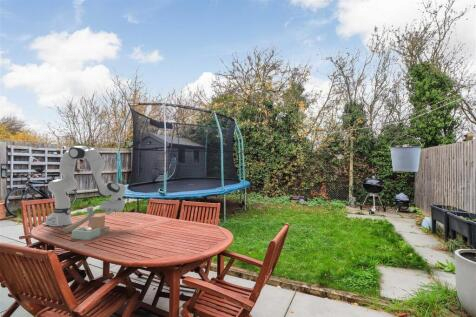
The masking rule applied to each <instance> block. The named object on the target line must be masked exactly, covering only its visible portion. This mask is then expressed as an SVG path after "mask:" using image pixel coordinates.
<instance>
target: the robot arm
mask: <svg viewBox="0 0 476 317" xmlns="http://www.w3.org/2000/svg"><path fill="white" fill-rule="evenodd" d="M83 159H86V160H87V162H88V164H89V166H90V168H91V174H92V176H93V180H94V182H95V184H96V187H97V193H98V195H99V196H100V197H102V198H107V197H109V196H110V195H111V196H110V198H109V200H108V199H107V200H106V199H105V200H103V201H102V202H101V204H100V205H99V206H98V208H99V210H100V211H105V212H106V213H105V216H106V215H107V216H110V215H111V214H113V212H122V211H123V210H124V208H125V205H126V202H125V200H124V199H123V197H124V195H125V192H126V190H127V189H126V186H125V185H124V184H123V183H116V182H114V181H112V180H111V181H108V182H107V183H105V181H104V179H103V176H102V172H103V170H104V169H105V166H106V165H105V161H104V159H103V157H102V155H101V154H100V152H99V151H98V150H97V149H96V148H91V147H90V146H88V145H75V146H72V147H70V148H69V150H66V151H65V152H63V155H62V157H61V160H60V164H59V169H58V172H59V173H60V174H61V175H62V178H60V179H59V178H58V179H54V180H51V181H49V182H48V184H47V188H48V191H49V192H50V193H52V194H53V197H54V202H55V203H54V204H55V207H54V208H52V213H50V214H49V215H48V216H46V219H45V221H44V222H43V223H42V226H47V225H49V226H48V227H62V226H63V225H64V226H69V225H71V224H73V222H72V215H71V210H72V209H71V208H72V207H71V198H70V196H68V194H67V193H66V192H71V191H73V190H74V191H75V190H76V189H77V188H78V185H79V183H78V181H77V179H76V178H75V169H76V168H75V167H76V164H77V161H78V160H83Z"/></svg>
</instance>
